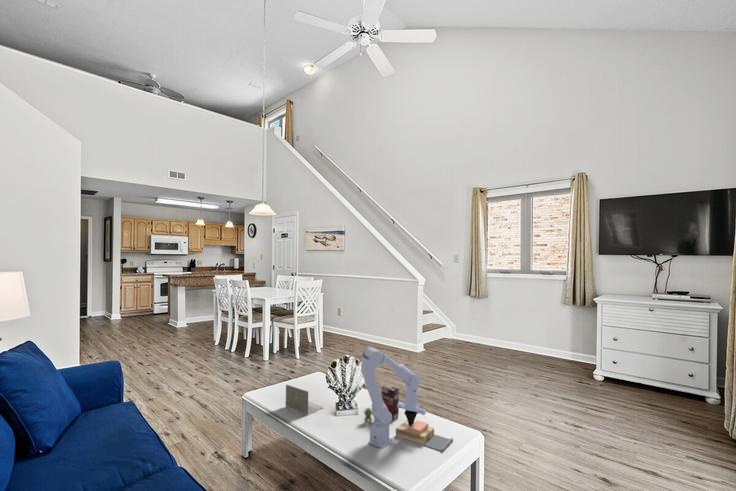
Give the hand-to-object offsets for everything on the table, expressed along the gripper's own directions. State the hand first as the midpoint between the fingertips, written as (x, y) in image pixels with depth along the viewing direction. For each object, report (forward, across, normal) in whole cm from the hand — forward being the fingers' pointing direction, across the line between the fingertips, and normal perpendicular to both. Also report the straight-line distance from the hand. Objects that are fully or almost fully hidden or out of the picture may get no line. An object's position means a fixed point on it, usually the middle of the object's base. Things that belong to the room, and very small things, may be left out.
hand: (411, 425), depth 180 cm
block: (+1, -4, 0) cm, 4 cm away
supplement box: (+4, +18, -10) cm, 21 cm away
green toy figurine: (+4, +24, +2) cm, 25 cm away
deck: (+4, -2, 0) cm, 5 cm away
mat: (+4, -14, 0) cm, 15 cm away
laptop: (+5, +64, +8) cm, 65 cm away
